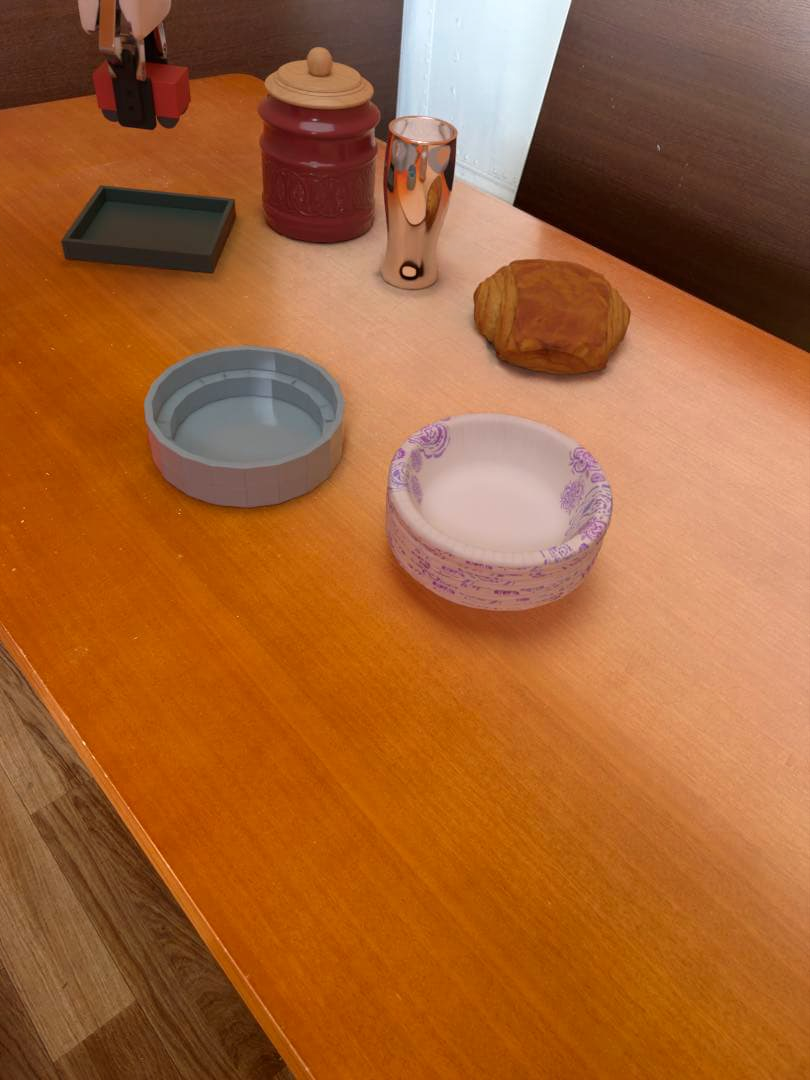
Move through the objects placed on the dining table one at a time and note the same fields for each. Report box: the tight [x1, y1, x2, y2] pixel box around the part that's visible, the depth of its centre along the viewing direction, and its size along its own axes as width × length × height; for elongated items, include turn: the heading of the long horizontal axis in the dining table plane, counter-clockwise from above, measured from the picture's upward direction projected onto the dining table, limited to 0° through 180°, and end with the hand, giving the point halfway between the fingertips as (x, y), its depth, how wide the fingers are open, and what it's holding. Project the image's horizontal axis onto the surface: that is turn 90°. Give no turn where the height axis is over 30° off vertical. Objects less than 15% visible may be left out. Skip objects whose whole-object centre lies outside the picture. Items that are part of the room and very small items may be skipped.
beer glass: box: [380, 115, 459, 290], centre depth 80 cm, size 7×7×15 cm
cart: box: [92, 59, 192, 130], centre depth 70 cm, size 7×4×4 cm, turn 86°
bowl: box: [143, 344, 346, 509], centre depth 63 cm, size 15×15×4 cm
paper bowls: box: [384, 412, 614, 612], centre depth 56 cm, size 15×15×8 cm
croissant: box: [472, 258, 632, 375], centre depth 77 cm, size 14×16×8 cm
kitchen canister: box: [256, 46, 381, 243], centre depth 86 cm, size 13×13×18 cm
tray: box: [60, 184, 237, 274], centre depth 86 cm, size 15×13×2 cm
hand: (146, 114), depth 71 cm, fingers closed on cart, 4 cm apart
